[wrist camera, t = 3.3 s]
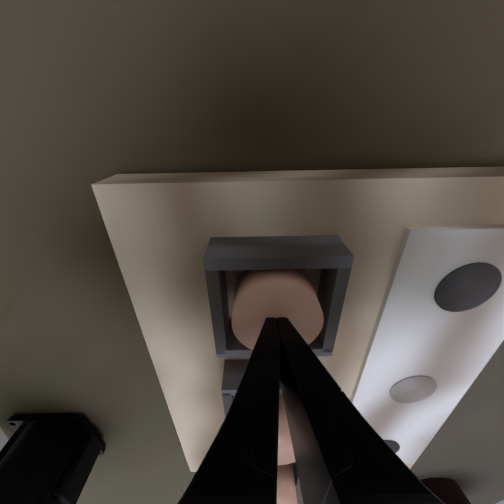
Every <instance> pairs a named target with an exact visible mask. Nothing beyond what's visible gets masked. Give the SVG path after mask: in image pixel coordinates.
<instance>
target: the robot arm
mask: <svg viewBox="0 0 504 504" xmlns="http://www.w3.org/2000/svg"><path fill="white" fill-rule="evenodd" d="M280 384H281V389H282V394H283V400H284V405H285V410H286V415H287V420H288V425H289V430H290V436H291V441H292V446H293V451H294V456H295V461H296V466H297V472H298V477H299V482H300V487H301V492H302V497H303V502H304V504H445V503H444V502H442V501H441V500H440V499H439V498H438V497H437V496H436V495H434V494H433V493H432V492H431V491H430V490H429V489H428V488H427V487H426V486H425V485H424V484H423V483H422V482H421V481H420V480H419V479H418V477H417V476H416V475H415V474H414V473H413V472H412V471H411V470H410V469H409V468H408V466H407V465H406V464H405V463H404V462H403V461H402V460H401V459H400V458H399V457H398V455H397V454H396V453H395V452H394V451H393V450H392V449H391V448H390V447H389V446H388V444H387V443H386V442H385V441H384V440H383V439H382V438H381V437H380V436H379V434H378V433H377V432H376V431H375V430H374V429H373V428H372V426H371V425H370V424H369V423H368V422H367V421H366V420H365V418H364V417H363V416H362V415H361V414H360V412H359V411H358V410H357V409H356V407H355V406H354V405H353V404H352V402H351V401H350V400H349V398H348V397H347V396H346V394H345V393H344V392H343V391H342V389H341V388H340V386H339V385H338V384H337V382H336V381H335V380H334V379H333V377H332V376H331V375H330V373H329V372H328V371H327V369H326V368H325V367H324V365H323V364H322V363H321V361H320V360H319V359H318V357H317V356H316V355H315V353H314V352H313V351H312V349H311V348H310V347H309V345H308V344H307V343H306V341H305V340H304V339H303V337H302V336H301V335H300V333H299V332H298V331H297V330H296V328H295V327H294V326H293V324H292V323H291V322H290V320H289V319H288V318H287V317H278V318H277V319H276V318H275V317H267V318H266V319H265V321H264V324H263V326H262V329H261V331H260V334H259V336H258V339H257V341H256V344H255V346H254V349H253V351H252V354H251V356H250V359H249V361H248V364H247V366H246V369H245V371H244V374H243V376H242V379H241V381H240V384H239V386H238V389H237V393H235V396H234V398H233V401H232V403H231V406H230V408H229V410H228V412H227V415H226V417H225V419H224V421H223V423H222V425H221V427H220V429H219V431H218V433H217V435H216V437H215V439H214V441H213V442H212V444H211V446H210V448H209V450H208V452H207V453H206V455H205V457H204V459H203V461H202V463H201V464H200V466H199V468H198V470H197V472H196V474H195V475H194V477H193V479H192V481H191V483H190V484H189V486H188V488H187V490H186V491H185V493H184V494H183V496H182V498H181V499H180V501H179V502H178V504H277V470H278V431H279V393H280ZM6 424H7V425H8V426H9V427H10V428H11V429H12V430H13V431H14V432H15V433H14V434H13V435H12V437H11V438H10V439H9V440H8V442H7V443H6V444H5V446H4V447H3V449H2V450H1V451H0V504H76V503H77V500H78V498H79V496H80V494H81V492H82V489H83V487H84V485H85V483H86V481H87V479H88V476H89V474H90V472H91V470H92V468H93V465H94V463H95V461H96V459H97V457H98V455H103V454H104V451H105V449H106V448H105V446H104V445H103V444H102V442H101V441H100V439H99V438H98V436H97V435H96V433H95V432H94V430H93V429H92V427H91V426H90V425H89V423H88V422H87V420H86V419H85V418H84V417H83V416H80V415H42V416H11V417H10V418H9V419H8V420H7V421H6Z"/></svg>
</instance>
